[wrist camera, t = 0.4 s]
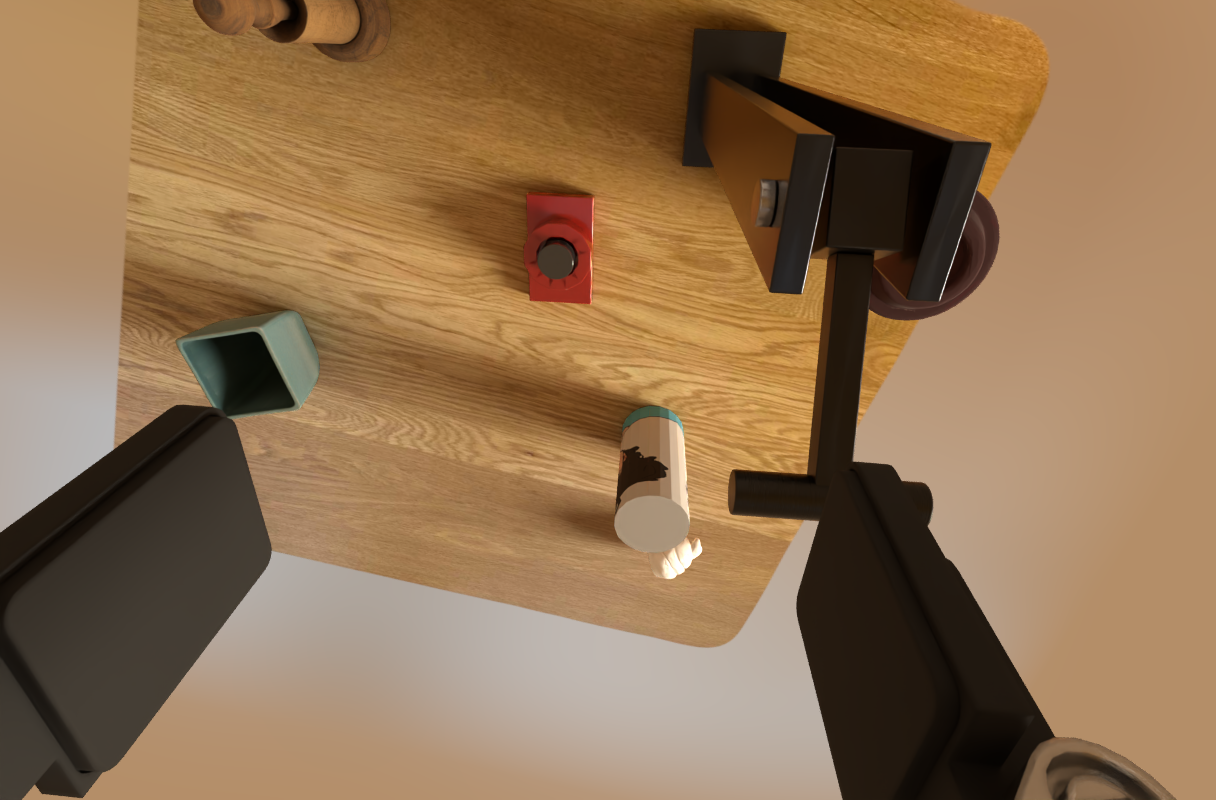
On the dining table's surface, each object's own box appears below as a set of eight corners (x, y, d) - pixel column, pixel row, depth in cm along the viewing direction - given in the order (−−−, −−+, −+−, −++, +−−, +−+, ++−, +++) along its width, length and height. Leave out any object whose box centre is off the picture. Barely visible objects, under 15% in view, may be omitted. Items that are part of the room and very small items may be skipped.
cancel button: (540, 237, 55) (536, 243, 53) (575, 239, 54) (573, 245, 53) (540, 272, 56) (537, 278, 55) (575, 274, 56) (573, 280, 55)
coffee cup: (856, 126, 51) (924, 155, 38) (951, 184, 52) (1047, 231, 39) (785, 232, 55) (824, 290, 42) (874, 281, 57) (938, 352, 44)
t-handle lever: (903, 516, 21) (938, 540, 18) (724, 503, 21) (735, 525, 18) (941, 176, 19) (984, 152, 17) (751, 166, 20) (768, 142, 17)
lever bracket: (763, 167, 53) (944, 388, 19) (681, 163, 53) (723, 374, 20) (784, 32, 48) (1080, 15, 14) (694, 28, 48) (778, 4, 15)
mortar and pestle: (403, -1, 48) (283, -19, 33) (375, 78, 51) (253, 95, 36) (323, -55, 47) (158, -101, 31) (299, 30, 50) (138, 25, 34)
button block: (528, 191, 55) (521, 198, 52) (595, 194, 55) (592, 202, 52) (531, 296, 60) (525, 307, 58) (592, 299, 60) (590, 311, 57)
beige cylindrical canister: (612, 418, 67) (601, 508, 54) (669, 397, 65) (672, 485, 52) (637, 464, 70) (632, 560, 57) (692, 445, 68) (701, 540, 55)
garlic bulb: (707, 545, 75) (710, 579, 71) (661, 557, 77) (661, 591, 72) (692, 513, 73) (694, 546, 68) (645, 526, 74) (644, 559, 70)
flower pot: (308, 290, 62) (258, 326, 54) (343, 367, 66) (301, 410, 58) (231, 303, 63) (171, 339, 55) (270, 377, 67) (219, 421, 59)
